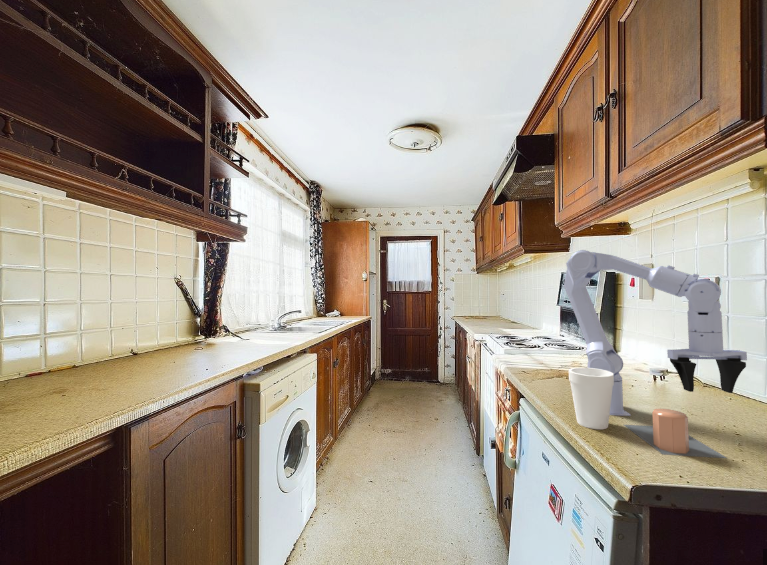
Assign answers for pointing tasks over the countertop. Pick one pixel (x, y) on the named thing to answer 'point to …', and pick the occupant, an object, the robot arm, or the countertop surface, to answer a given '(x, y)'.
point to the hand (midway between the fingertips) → (707, 391)
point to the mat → (694, 450)
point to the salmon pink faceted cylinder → (670, 430)
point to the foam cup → (591, 396)
